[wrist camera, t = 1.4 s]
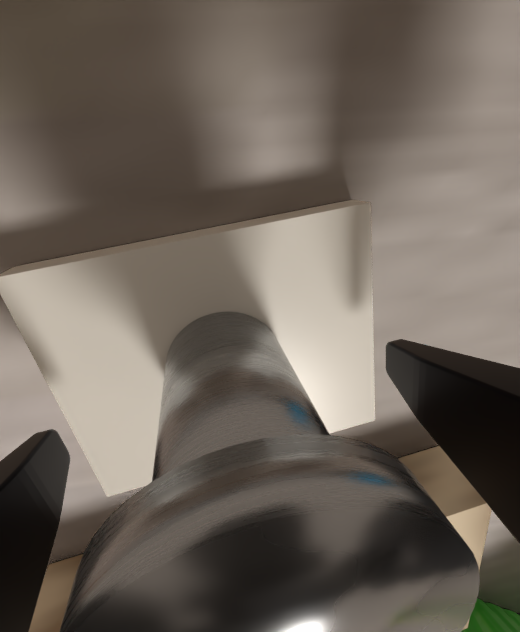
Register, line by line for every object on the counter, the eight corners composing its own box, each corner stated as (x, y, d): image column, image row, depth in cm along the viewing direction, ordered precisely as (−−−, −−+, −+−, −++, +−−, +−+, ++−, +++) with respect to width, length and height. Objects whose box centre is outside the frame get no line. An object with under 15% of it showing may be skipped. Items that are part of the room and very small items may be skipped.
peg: (294, 268, 10) (509, 446, 3) (312, 408, 12) (459, 680, 5) (111, 308, 9) (-76, 629, 3) (165, 448, 11) (136, 810, 5)
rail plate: (440, 445, 16) (497, 505, 13) (429, 566, 20) (470, 632, 17) (48, 564, 14) (11, 669, 11) (127, 672, 18) (115, 768, 15)
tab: (351, 199, 10) (371, 202, 9) (360, 401, 14) (375, 420, 13) (15, 266, 9) (-9, 278, 8) (114, 469, 12) (107, 497, 11)
